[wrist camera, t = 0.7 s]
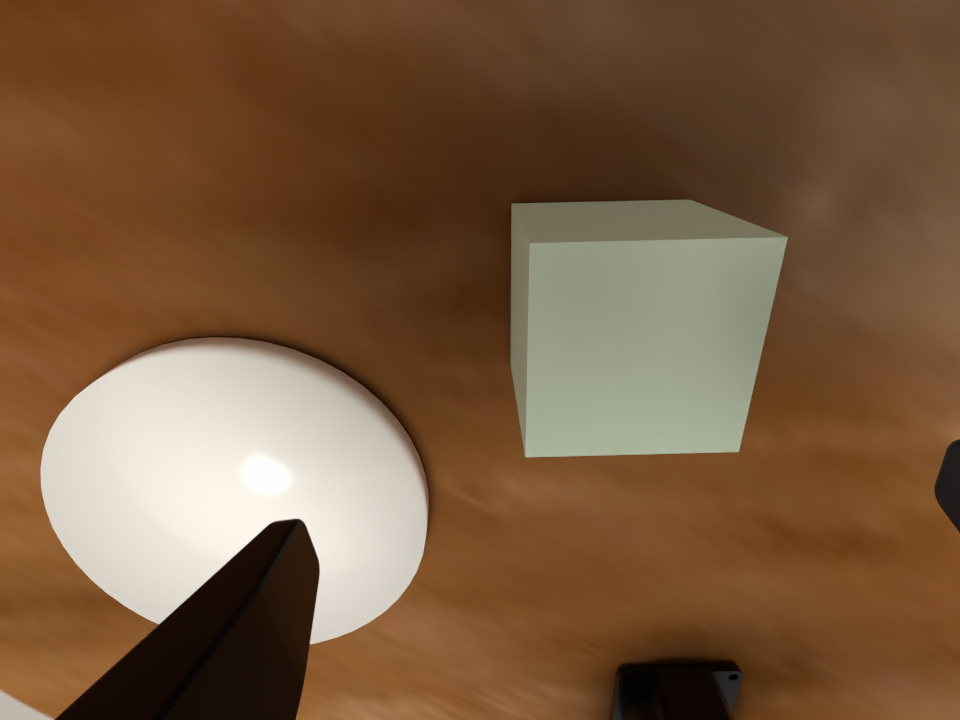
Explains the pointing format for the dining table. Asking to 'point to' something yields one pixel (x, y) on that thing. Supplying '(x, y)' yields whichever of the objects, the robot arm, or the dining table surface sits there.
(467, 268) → the dining table surface
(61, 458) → the plate
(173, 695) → the robot arm
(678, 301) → the sage cube
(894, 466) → the dining table surface
